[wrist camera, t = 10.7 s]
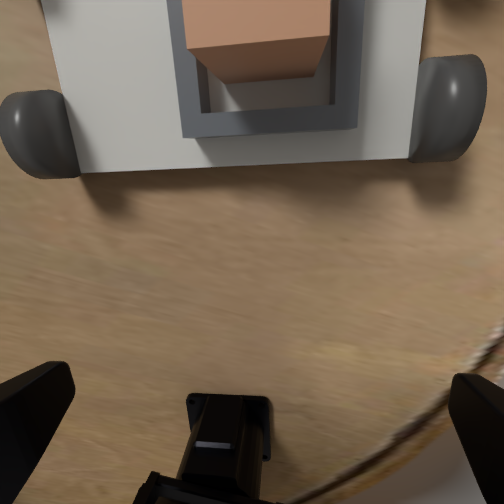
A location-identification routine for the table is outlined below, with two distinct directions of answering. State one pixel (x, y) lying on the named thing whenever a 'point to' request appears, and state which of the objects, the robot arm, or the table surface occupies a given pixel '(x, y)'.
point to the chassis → (237, 96)
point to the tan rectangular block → (257, 37)
